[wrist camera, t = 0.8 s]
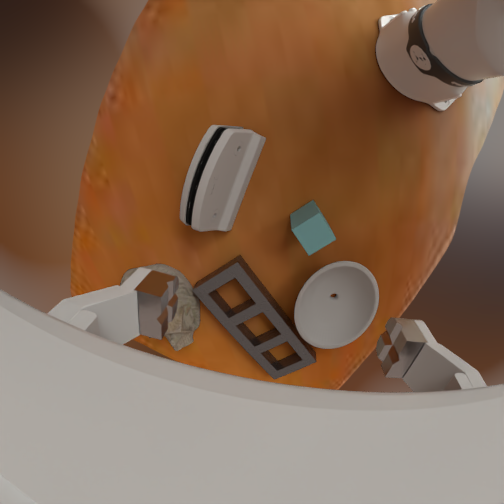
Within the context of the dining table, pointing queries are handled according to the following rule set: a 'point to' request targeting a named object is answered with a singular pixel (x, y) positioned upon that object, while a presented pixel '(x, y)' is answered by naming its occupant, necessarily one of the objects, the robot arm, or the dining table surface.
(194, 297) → the ceramic cottage
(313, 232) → the square peg
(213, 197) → the white arch segment
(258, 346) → the grey slotted board
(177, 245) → the dining table surface
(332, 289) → the dish
